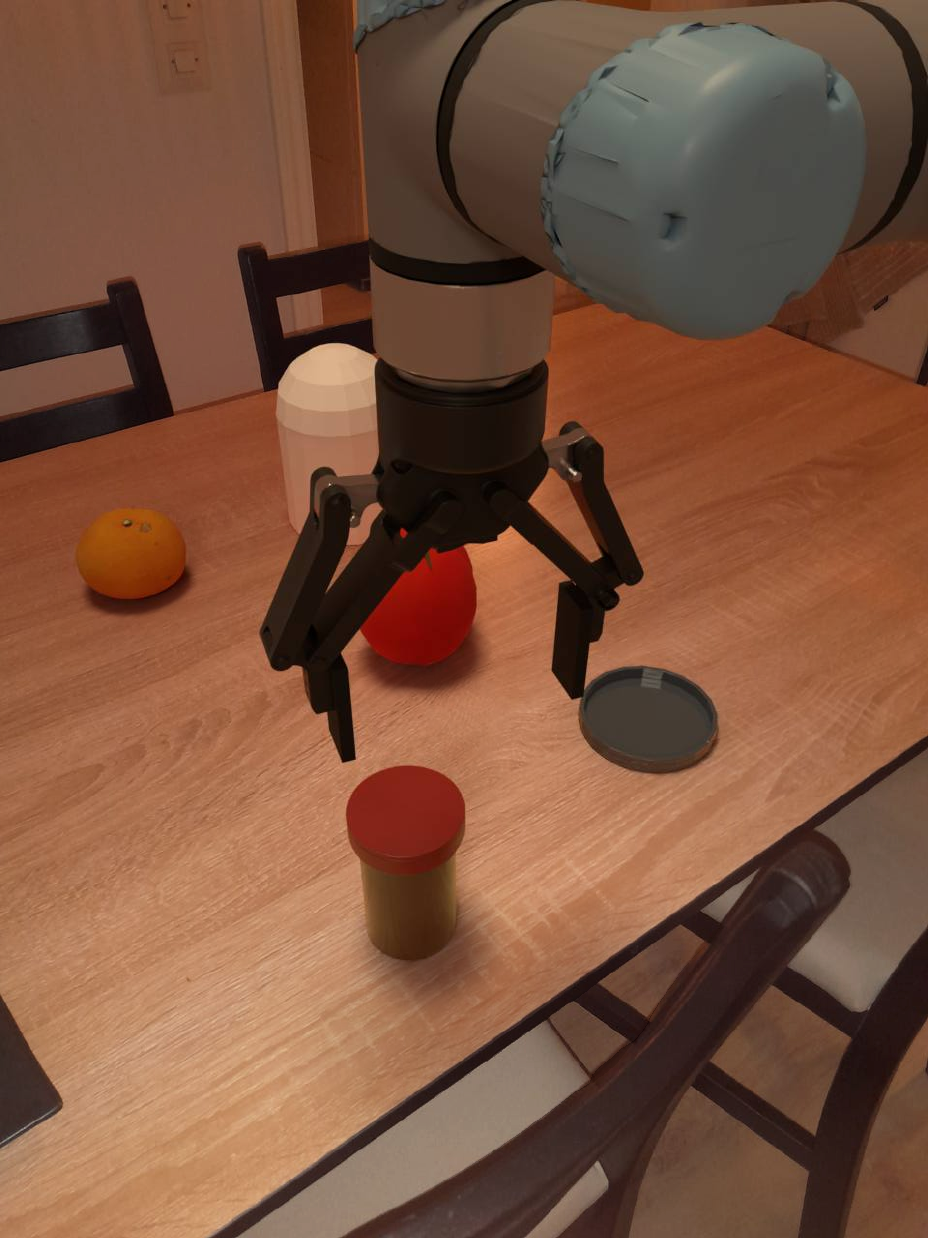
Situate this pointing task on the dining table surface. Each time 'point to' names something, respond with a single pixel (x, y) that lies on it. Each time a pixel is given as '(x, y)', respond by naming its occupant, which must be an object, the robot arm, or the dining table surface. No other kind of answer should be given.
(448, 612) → the tomato
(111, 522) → the fruit
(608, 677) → the saucer
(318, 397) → the container
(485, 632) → the dining table surface
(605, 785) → the dining table surface
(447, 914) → the jar
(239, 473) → the dining table surface
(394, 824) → the lid
